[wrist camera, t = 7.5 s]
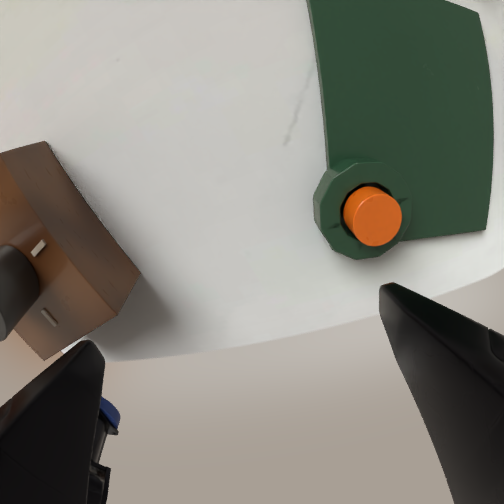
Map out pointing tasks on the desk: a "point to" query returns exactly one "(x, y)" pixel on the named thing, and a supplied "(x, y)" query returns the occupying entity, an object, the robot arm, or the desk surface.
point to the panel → (59, 251)
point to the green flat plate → (403, 116)
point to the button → (372, 216)
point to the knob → (15, 288)
